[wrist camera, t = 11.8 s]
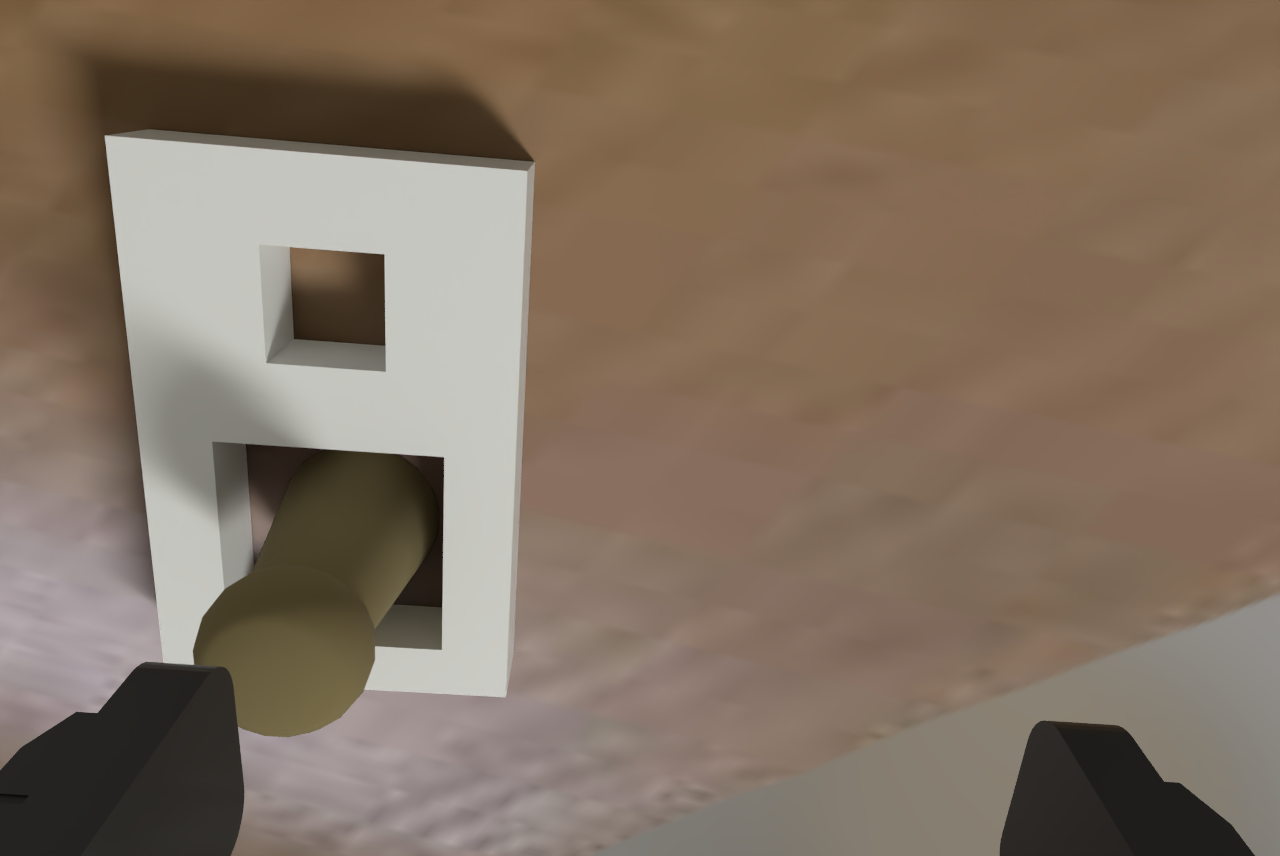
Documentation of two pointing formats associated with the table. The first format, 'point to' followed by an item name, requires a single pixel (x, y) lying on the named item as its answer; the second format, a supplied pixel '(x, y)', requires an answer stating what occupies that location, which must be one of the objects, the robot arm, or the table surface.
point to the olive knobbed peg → (320, 590)
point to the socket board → (328, 365)
